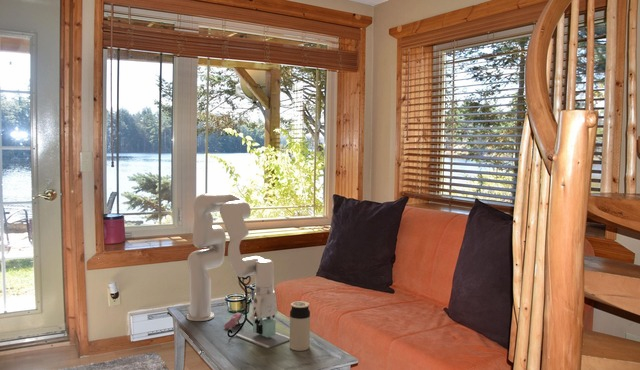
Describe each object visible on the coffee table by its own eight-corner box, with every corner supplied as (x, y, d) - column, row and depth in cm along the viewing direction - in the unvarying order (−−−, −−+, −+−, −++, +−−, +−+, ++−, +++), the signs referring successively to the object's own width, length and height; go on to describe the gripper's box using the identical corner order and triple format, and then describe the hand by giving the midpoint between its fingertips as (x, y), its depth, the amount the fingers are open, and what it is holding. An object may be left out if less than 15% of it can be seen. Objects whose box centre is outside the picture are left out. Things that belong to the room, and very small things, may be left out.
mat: (235, 336, 235) (235, 334, 235) (260, 328, 245) (260, 326, 245) (267, 348, 222) (267, 347, 222) (292, 339, 232) (292, 338, 232)
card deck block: (267, 337, 229) (267, 322, 228) (252, 331, 235) (253, 317, 234) (275, 334, 232) (275, 320, 231) (261, 329, 238) (261, 315, 238)
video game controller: (231, 333, 243) (238, 319, 242) (222, 327, 244) (229, 314, 243) (239, 325, 253) (245, 312, 252) (230, 320, 254) (237, 307, 252)
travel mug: (294, 352, 218) (295, 307, 217) (286, 345, 225) (286, 302, 224) (312, 349, 222) (313, 305, 220) (304, 342, 229) (304, 300, 227)
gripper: (254, 295, 223) (254, 339, 225) (285, 287, 235) (284, 329, 237) (242, 291, 228) (242, 334, 230) (273, 284, 241) (272, 325, 242)
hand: (264, 331), depth 233 cm, fingers closed on card deck block, 4 cm apart
